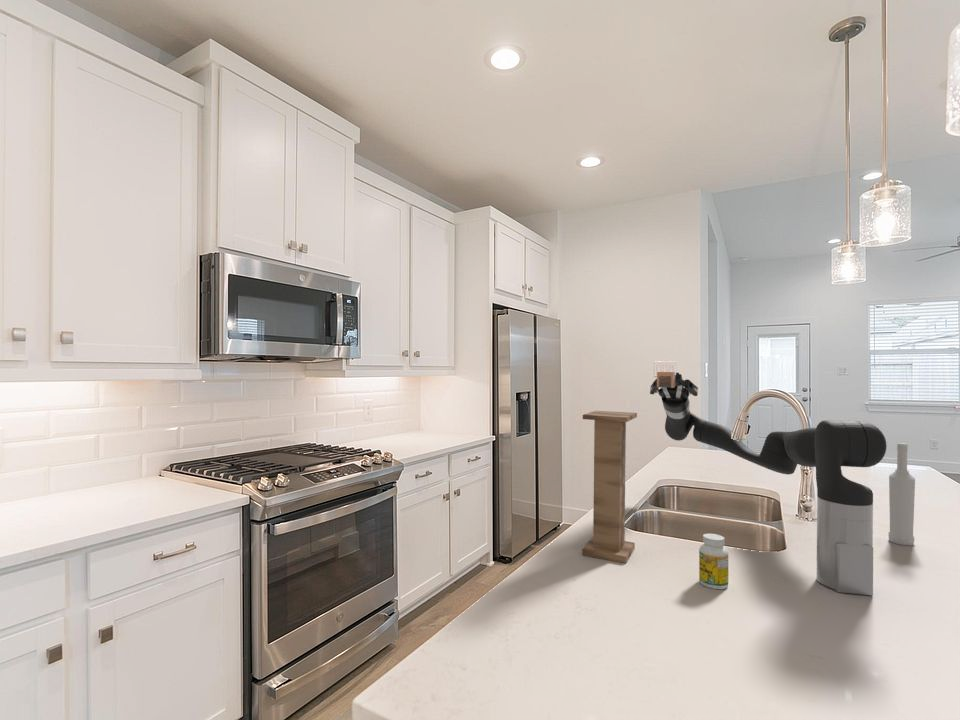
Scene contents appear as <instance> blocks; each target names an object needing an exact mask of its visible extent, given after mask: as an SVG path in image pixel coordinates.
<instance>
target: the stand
mask: <svg viewBox="0 0 960 720" xmlns="http://www.w3.org/2000/svg"><path fill="white" fill-rule="evenodd" d="M637 414H638V412H623V411H606V410H594V411H590V412H587V413H584V414H582V420H592V421H594V439H593V440H594V441H593V443H594V444H593V445H594V446H593V450H594V451H593V510H592V511H593V515H592V516H593V517H592V518H593V523H592V524H593V526H592V532H593V533H592V534H593V535H592V537H591V538H590V539H589V540H588V541H587V542H586V543H585V545H584V546H583V547H582V550H581V554H582V556H586V557H592V558H596V559H602V560H607V561H610V562H611V561H612V562H617V563H623V564H627V563H628V562H629V560H630V558H631V556H632V555H633V552H634V550H635V549H636V548H635V545H636V542H632V541H627V540H625V538H626V537H625V536H626V535H625V534H626V533H625V530H626V529H625V528H626V527H625V525H626V523H625V521H626V516H625V515H626V450H627V449H626V447H627V445H626V444H627V443H626V441H627V439H626V435H627V434H626V433H627V423H628V422H630V421H632V420H634V419H636V418H637V416H638V415H637Z"/></svg>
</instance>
